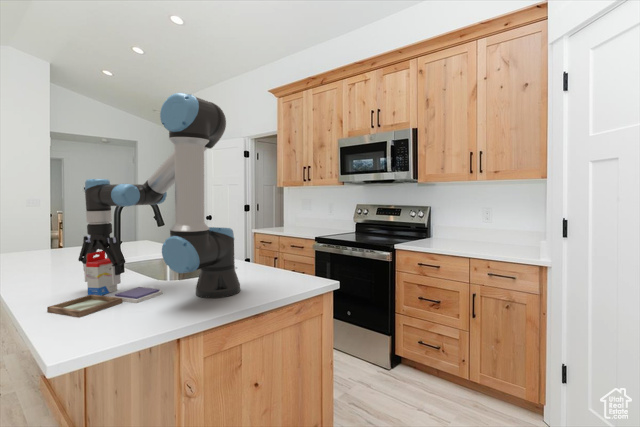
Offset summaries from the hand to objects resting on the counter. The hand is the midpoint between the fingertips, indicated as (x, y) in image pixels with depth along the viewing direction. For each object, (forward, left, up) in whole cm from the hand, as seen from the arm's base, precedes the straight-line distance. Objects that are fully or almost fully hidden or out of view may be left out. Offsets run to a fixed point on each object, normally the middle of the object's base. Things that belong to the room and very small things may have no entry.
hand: (102, 282), depth 128 cm
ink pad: (-16, 0, -4) cm, 16 cm away
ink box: (0, 0, -4) cm, 4 cm away
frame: (-10, +14, -4) cm, 17 cm away
